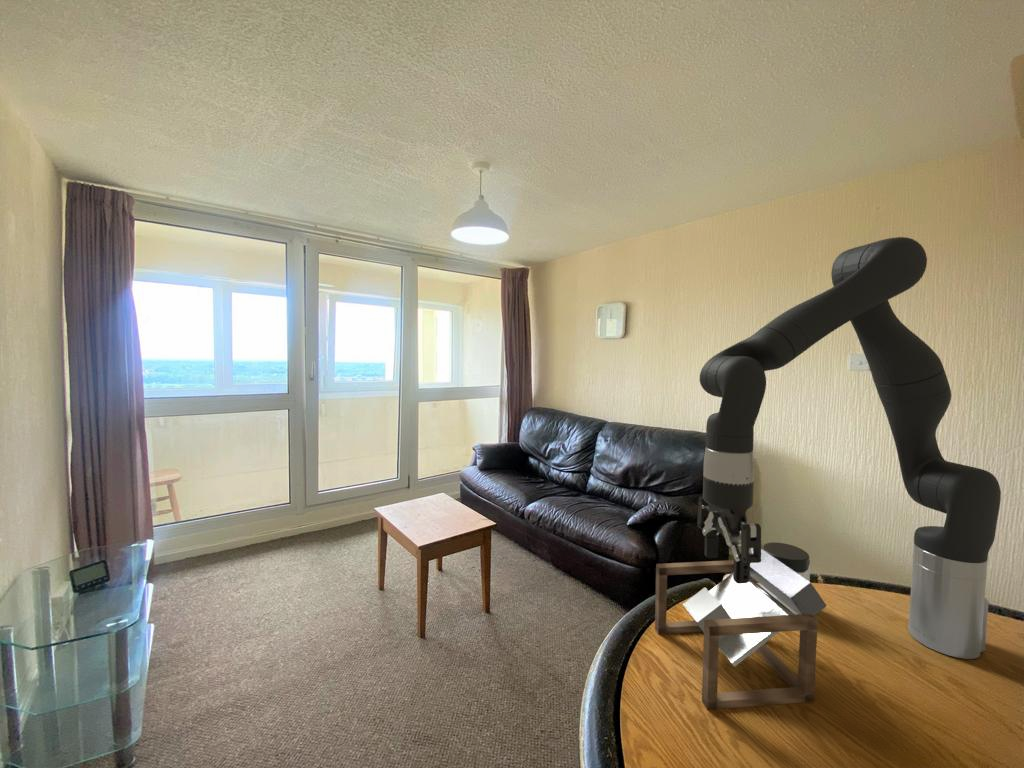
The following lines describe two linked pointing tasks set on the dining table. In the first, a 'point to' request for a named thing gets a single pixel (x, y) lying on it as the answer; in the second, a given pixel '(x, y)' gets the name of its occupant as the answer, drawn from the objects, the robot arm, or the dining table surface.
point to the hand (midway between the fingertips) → (725, 568)
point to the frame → (804, 623)
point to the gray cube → (705, 608)
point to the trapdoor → (763, 602)
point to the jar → (789, 561)
